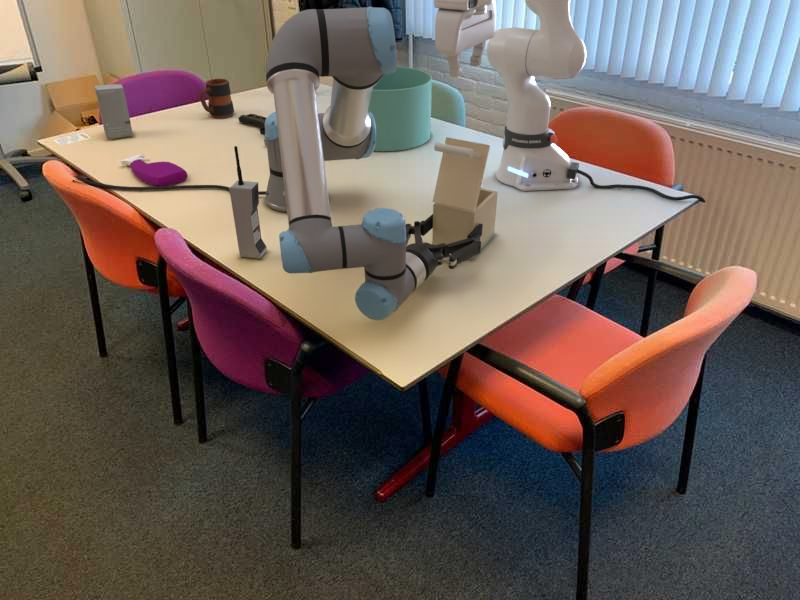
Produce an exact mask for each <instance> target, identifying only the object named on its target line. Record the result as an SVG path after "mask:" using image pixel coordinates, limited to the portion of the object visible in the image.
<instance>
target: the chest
mask: <svg viewBox="0 0 800 600" xmlns="http://www.w3.org/2000/svg"><path fill="white" fill-rule="evenodd" d="M498 193H499V192H498V190H497V191H496V190H492V189H487V188H482V187H481V188H480V193H479V197H478V202H477V206H476V211H470V210H466V209H461V208H457V207H452V206H448V205H444V204H439V203H435V202H433V205H432V207H433V208H432V214H433V228H432V235H431V237H432V239H431V244H432V245H438V244H442V243H445V244H450V243H453V242H457V241H460V240H464V239H467V235H468V234H469V233H470V232H471V231H472V230H473V229H474V228H475V227H477V226H478V225H479V224H483V228H482V236H481V237H480V241H481V250H482V249H483V248H484V247H485V246H486V245H487V243H488V242H489V241H490V240H492V238H493V237H494V236H495V226H496V217H497V216H496V215H497V205H498V204H497V203H498ZM441 251H442V249H441ZM473 258H474V257H472V258H470V259H469V260H473Z"/></svg>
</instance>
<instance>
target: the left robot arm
mask: <svg viewBox="0 0 800 600" xmlns="http://www.w3.org/2000/svg"><path fill="white" fill-rule="evenodd" d="M397 66H398V56H397V43H396V34H395V27H394V20H393V16H392V13H391V12H390V10H389V9H387V8H385V7H373V6H367V7H364V6H363V7H347V8H345V7H343V8H323V9H316V8H311V9H310V8H309V9H305V10H301V11H299V12H297V13H295V14H294V15H291V16H290V17H289V18H288V19H286V21H285V22H284V23H283V24H282V25H281V26H280V27H279V29H278V30H277V32H276V33H275V35H274V37H273V39H272V41H271V43H270V45H269V49H268V52H267V55H266V62H265V80H266V81H265V82H266V87H267V90H268V91H269V92H270V93H271V94H272V95H273V100H274V109H275V111H274V112H272V113H270V114H269V115H268V116H267V117H266V120H265V135H264V139H266V142H267V146H266V149H267V160H268V167H269V168H268V169H269V177H268V182H267V186H266V190H263V191H259V190H258V191H259V196H264V195H265V204H266V206H267V207H269V208H270V209H272V210H275V211H277V212H282V213H286V214H287V222H288V229H286V230H285V231H283V230H282V231H281V232H280V233H278V234H279V235H278V236H279V237H278V239H279V248H280V257H281V264H282V269H283V271H284V272H286V273H287V274H313V273H319V272H326V271H334V270H344V269H345V270H347V269H356V268H364V282H362V283H361V285H360V286H359V287H358V289H357V290H356V292H355V295H354V301H355V304H356V307H357V309H358V310H359V311H360V313H361V314H362V315H364V316H365V317H366V318H368V319H370V320H373V321H383V320H385V319H387V318H388V317H390V316H391V315H392V314H393V313H395V312H397V310H398V309H399V307H401V306H402V305H403V303H405V301H406V300H407V299H408V298H409V297H410V296H411V295H412V294H414V292H415V291H416V290H417V289H418V288H419V287H420V286H421V285H422V284H423V283H424V282H425V281H426V280H427V279H428V278H429V277H430V276H431V275H432V274H433V273H434V271H435V270H436V268H437V267H439V266H442V265H443V264H444V265H448V269H449V270H454V269H455V268H457V266H458V265H460V264H462V263H464V262H466V261H468V260H471V259H470V258H472V257H473V258H475V256H478V255H479V254H481V252H482V249H481V241H480V237H481V236H482V228H483V224H479V225H478V226H477V227H475V228H474V229H473V230H472V231H471V232H470V233H469V234H468V235H467V239H464V240H460V241H457V242H453V243H450V244H445V243H442V244H438V245H432V243H429V242H426V241H425V242H424V241H423V237H425V235H427V233H429V232H430V231H431V230H433V213H432V214H430V215H429V217H427V218H426V219H425V220H421V221H419V220H415V221H414V222H413V225H412V224H411V223H406V218H405V216H404V215H403V214H402V213H401V212H400V211H398V210H397V209H393V208H388V207H378V208H374V210H373V209H370V210H368V211H366V212H365V213H364V215H363V217H362V222H361V223H360V224H359V223H358V224H349V225H339V226H333V223H332V213H331V207H330V199H329V198H330V197H329V190H328V180H327V173H326V166H325V162H330V161H343V160H345V161H346V160H361V159H364V158H365V159H366V158H369V157H371V156H372V155H373V154H374V152H375V151H374V148H375V140H376V125H375V120H374V117H373V115H372V113H371V112H370V111H368V108H369V103H370V99H371V94H372V90H373V86H374V85H376V84H377V83H378V82H379V81H380V80H381V78H382V76H383V74H389V73H394V72H395V71H396V68H397ZM320 77H321V78H323V77H331V78H332V87H331V97H330V105H329V106H328V107H327V108H326V110H325V112H322V113H321V112H320V113H319V108H318V102H317V101H318V100H317V94H316V93H317V90H318V89H319V87H320V85H321V80H320ZM74 177H76V178H78V179H77V180H80V181H82V182H84V183H86V184H88V185H93V186H97V187H102V188H107V189H112V190H123V191H161V190H162V191H163V190H164V191H165V190H183V189H184V190H185V189H218V190H225V191H228V192H230V190H229V188H230V187H229V186H226V185H220V184H219V185H218V184H187V185H186V184H182V185H170V186H158V187H155V186H123V185H113V184H107V183H102V182H98V181H93V180H89V179H87V178H85V177H83V176H79V175H75V176H74ZM412 235H413V239H414V243H410V244H408V243H409V241H410V238H411V236H412ZM441 249H442V251H441ZM473 258H472V259H473Z"/></svg>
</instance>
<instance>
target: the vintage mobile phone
mask: <svg viewBox="0 0 800 600" xmlns="http://www.w3.org/2000/svg"><path fill="white" fill-rule="evenodd" d="M233 149H234V157H235V162H236V173H237V180H236V181H235V182H234V183H233V184H232V185H231V186H230V187H229V190H230V191H229V197H230V203H231V208H232V215H233V220H234V227H235V236H236V242H237V247H238V254H239V256H240V257H241V258H249V259H262V258H263V256H264V255H265V253H267V251H268V248H267V245H266V244H265V242H264V240H263V239H262V232H261V227H260V226H261V225H260V217H259V210H258V207H259V204H260V195H259V182H257V181H250V180H249V181H248V180H243V174H242V168H241V164H240V156H239V150H238V146H237V145H234V146H233Z"/></svg>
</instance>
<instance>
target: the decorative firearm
mask: <svg viewBox="0 0 800 600" xmlns="http://www.w3.org/2000/svg"><path fill="white" fill-rule="evenodd" d="M266 118H267V117H266V116H263V115H258V114H255V113H248V114H242V115H239V117H238V123H242V124H245V125H248V126H255V127H257V128H259V133H260V135H262V136H265V120H266ZM263 143H264V146H266V147H267V142H266V139H265V138H264V139H263Z"/></svg>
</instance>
